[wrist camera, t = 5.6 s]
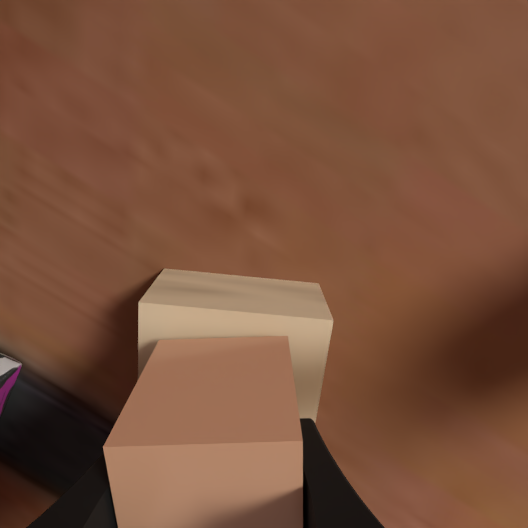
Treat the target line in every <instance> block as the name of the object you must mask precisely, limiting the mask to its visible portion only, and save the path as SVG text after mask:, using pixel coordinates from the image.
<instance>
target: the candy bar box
mask: <svg viewBox="0 0 528 528" xmlns="http://www.w3.org/2000/svg"><path fill="white" fill-rule="evenodd" d="M21 366H22V363H21V362H19V361H17V360H15V359H13V358H11V357H9V356H7V355H4V354H2V353H0V418H1V416H2V413H3V410H4V408H5V405H6V403H7V401H8V398H9V396H10V393H11V391H12V388H13V386H14V384H15V381H16V379H17V376H18V374H19V371H20V369H21Z"/></svg>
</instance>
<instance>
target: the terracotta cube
mask: <svg viewBox="0 0 528 528" xmlns="http://www.w3.org/2000/svg"><path fill="white" fill-rule="evenodd" d="M103 450H104V456H105V461H106V466H107V472H108V477H109V482H110V487H111V493H112V498H113V503H114V509H115V514H116V519H117V525H118V528H303V438H302V431H301V424H300V417H299V410H298V403H297V396H296V389H295V382H294V375H293V368H292V361H291V354H290V347H289V340H288V336H267V337H236V338H204V339H172V340H159V341H158V343H157V345H156V347H155V349H154V351H153V352H152V354H151V356H150V358H149V360H148V362H147V364H146V366H145V368H144V370H143V372H142V373H141V375H140V377H139V379H138V381H137V383H136V385H135V387H134V389H133V391H132V393H131V394H130V396H129V398H128V400H127V402H126V404H125V406H124V408H123V410H122V412H121V414H120V415H119V417H118V419H117V421H116V423H115V425H114V427H113V429H112V431H111V433H110V435H109V436H108V438H107V440H106V442H105V444H104V446H103Z"/></svg>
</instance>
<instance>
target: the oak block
mask: <svg viewBox="0 0 528 528" xmlns="http://www.w3.org/2000/svg"><path fill="white" fill-rule="evenodd" d="M332 326H333V318H332V315H331V313H330V310H329V308H328V306H327V303H326V301H325V298H324V296H323V293H322V291H321V288H320V286H319V283H309V282H298V281H288V280H278V279H267V278H257V277H246V276H236V275H226V274H215V273H205V272H195V271H184V270H174V269H163V270H162V272H161V273H160V274H159V276H158V277H157V278H156V280H155V281H154V282H153V284H152V285H151V286H150V288H149V289H148V290H147V292H146V293H145V294H144V296H143V297H142V298H141V300H140V301H139V302H138V379H139V377H140V375H141V373H142V372H143V370H144V368H145V366H146V364H147V362H148V360H149V358H150V356H151V354H152V352H153V351H154V349H155V347H156V345H157V343H158V341H159V340H172V339H204V338H236V337H267V336H288V340H289V347H290V354H291V361H292V368H293V375H294V382H295V389H296V396H297V403H298V410H299V417H300V418H311V419H312V420H313V421H314V423H315V422H316V416H317V411H318V405H319V399H320V394H321V388H322V382H323V377H324V371H325V365H326V360H327V354H328V349H329V343H330V337H331V332H332Z"/></svg>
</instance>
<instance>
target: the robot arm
mask: <svg viewBox="0 0 528 528" xmlns="http://www.w3.org/2000/svg"><path fill="white" fill-rule="evenodd" d="M300 424H301V431H302V438H303V528H384V526H383V525H382V524H381V523H380V522H379V521H378V520H377V518H376V517H375V516H374V515H373V514H372V512H371V511H370V510H369V509H368V507H367V506H366V505H365V504H364V502H363V501H362V500H361V498H360V497H359V496H358V494H357V493H356V492H355V490H354V489H353V487H352V486H351V485H350V483H349V482H348V480H347V479H346V477H345V476H344V475H343V473H342V471H341V470H340V468H339V467H338V465H337V464H336V462H335V460H334V459H333V457H332V456H331V454H330V452H329V450H328V449H327V447H326V445H325V443H324V441H323V440H322V438H321V436H320V434H319V432H318V430H317V427H316V425H315V423H314V421H313V420H312V419H311V418H300ZM26 528H118V525H117V519H116V514H115V509H114V503H113V498H112V493H111V487H110V482H109V477H108V472H107V466H106V461H105V456H104V454H103V455H102V456H101V457H100V458H99V459H98V460H97V461H96V462H95V463H94V464H93V465H92V466H91V467H90V468H89V469H88V470H87V472H86V473H85V474H84V475H83V476H82V477H81V478H80V479H79V480H78V481H77V482H76V483H75V484H74V485H73V486H72V487H71V488H70V489H69V490H68V491H66V492H65V493H64V494H63V495H62V496H61V497H60V498H59V499H58V500H57V501H56V502H55V503H54V504H53V505H52V506H51V507H50V508H49V509H47V510H46V511H45V512H44V513H43V514H42V515H41V516H40V517H38V518H37V519H36V520H35V521H34V522H32V523H31V524H30V525H29V526H28V527H26Z"/></svg>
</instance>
